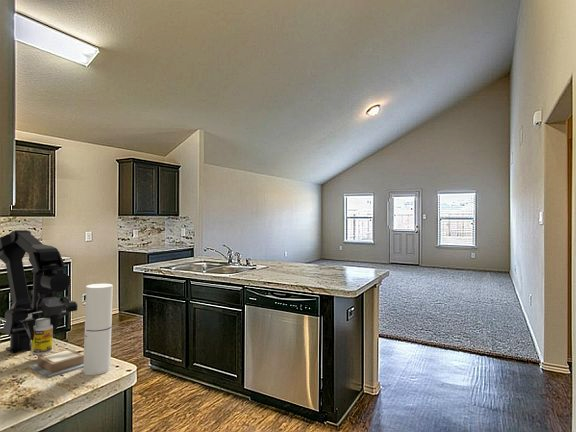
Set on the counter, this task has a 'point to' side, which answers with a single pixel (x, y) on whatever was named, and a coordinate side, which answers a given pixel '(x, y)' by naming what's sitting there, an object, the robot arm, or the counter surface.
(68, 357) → the tiered square riser
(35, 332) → the supplement bottle
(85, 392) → the counter surface
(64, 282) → the robot arm
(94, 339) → the cylindrical container
